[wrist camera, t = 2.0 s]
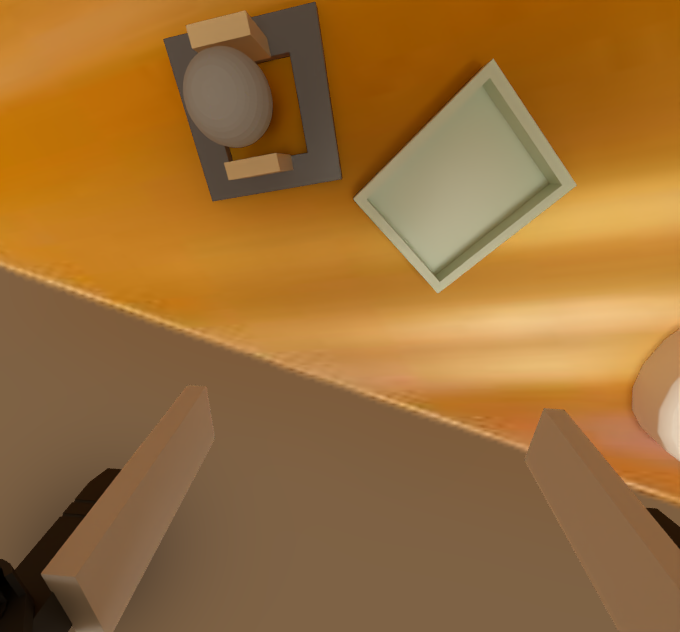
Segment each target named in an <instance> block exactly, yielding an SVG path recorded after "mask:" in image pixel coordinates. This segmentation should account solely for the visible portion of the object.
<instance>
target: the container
mask: <svg viewBox="0 0 680 632" xmlns="http://www.w3.org/2000/svg"><path fill="white" fill-rule="evenodd" d="M632 410H633V412H634V414H635V417H636V419H637V421H638V423H639V425H640V427H641V428H642V429H643V430H644V431H645V432H646V433H648V434H649V435H650V436H651V437H652V438H653V439H654V440H655V441H656V442H657V443H658V444H659V445H660V446H661V447H662V448H663V449H664V450H665V451H667V452H668V453H669V454H671V455H672V456H673V457H674V458H676V459H677V460H678V461H680V329H679V330H677V331H676V332H674V333H673V334H672V335H670V336H669V337H668V338H666V339H665V340H664V341H663V342H662V343H661V344H660V345H659V347H658V348H657V349H656V350H655V351H654V352H653V353H652V355H651V356H650V357H649V358H648V359H647V360H646V362H645V363H644V364H643V366H642V368H641V370H640V373H639V375H638V377H637V379H636V381H635V384H634V386H633V391H632Z"/></svg>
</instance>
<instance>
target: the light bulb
mask: <svg viewBox="0 0 680 632" xmlns="http://www.w3.org/2000/svg"><path fill="white" fill-rule="evenodd" d="M183 96H184V101H185V105H186V108H187V111H188V113H189V115H190V117H191V119H192V121H193V122H194V123H195V125H196V126H197V127H198V129H199V130H200V131H201V132H202V133H203V134H204V135H205V136H206V137H207V138H209V139H210V140H212V141H213V142H215V143H217V144H220V145H223V146H228V147H233V148H240V147H245V146H248V145H251V144H253V143H254V142H256V141H257V140H258V139H259V138H260V137H262V136H263V134H264V133H265V132H266V130H267V128H268V126H269V124H270V121H271V118H272V111H273V101H272V95H271V90H270V87H269V84H268V81H267V79H266V77H265V75H264V73H263V72H262V70H261V69H260V68H259V66H258V65H257V64H256V63H255V62H254V61H253V60H252V59H250V58H249V57H248V56H247V55H245V54H244V53H242V52H241V51H239V50H237V49H235V48H232V47H228V46H214V47H210V48H207V49H204V50H202V51H200V52H199V53H198V54H197V55H195V56H194V58H193V59H192V60H191V61H190V63H189V65H188V67H187V69H186V72H185V75H184V80H183Z"/></svg>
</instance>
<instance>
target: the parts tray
mask: <svg viewBox="0 0 680 632" xmlns="http://www.w3.org/2000/svg"><path fill="white" fill-rule="evenodd" d="M575 186H577V185H576V183H575V182H574V180H573V179H572V177H571V176H570V174H569V173H568V171H567V170H566V168H565V167H564V165H563V163H562V162H561V160H560V159H559V157H558V156H557V154H556V153H555V151H554V150H553V148H552V147H551V145H550V144H549V142H548V141H547V139H546V138H545V136H544V135H543V133H542V132H541V130H540V129H539V127H538V126H537V124H536V123H535V121H534V119H533V118H532V116H531V115H530V113H529V112H528V110H527V109H526V107H525V106H524V104H523V103H522V101H521V100H520V98H519V97H518V95H517V94H516V92H515V91H514V89H513V88H512V86H511V85H510V83H509V82H508V80H507V79H506V77H505V76H504V74H503V72H502V71H501V69H500V68H499V66H498V65H497V63H496V62H495V60H494V59H492V60H491V61H490V62H488V63H487V64H486V65H485V66H484V67H482V68H481V69H480V70H479V71H478V72H477V73H476V74H475V75H474V76H473V77H472V78H471V79H470V80H469V81H468V82H467V83H466V84H465V85H464V86H463V87H462V88H461V89H460V90H459V91H458V92H457V93H456V94H455V95H454V96H453V97H452V98H451V99H450V100H449V101H448V102H447V103H446V105H445V106H444V107H443V108H442V109H441V110H440V111H439V112H438V113H437V114H436V115H435V116H434V117H433V118H432V119H431V120H430V121H429V122H428V123H427V124H426V125H425V126H424V127H423V128H422V129H421V130H420V131H419V132H418V133H417V134H416V135H415V136H414V137H413V138H412V139H411V140H410V141H409V142H408V143H407V144H406V145H405V146H404V147H403V148H402V149H401V150H400V151H399V152H398V153H397V154H396V155H395V156H394V157H393V158H392V159H391V160H390V161H389V162H388V163H387V164H386V165H385V166H384V167H383V168H382V169H381V170H380V171H379V172H378V173H377V174H376V175H375V176H374V177H373V178H372V179H371V180H370V181H369V182H368V183H367V184H366V185H365V186H364V187H363V188H362V189H361V190H360V191H359V192H358V193H357V194H356V195H355V196H354V198H353V200H354V201H355V202H356V203H357V204H358V205H359V206H360V207H361V209H362V210H363V211H364V212H365V213H366V214H367V215H368V216H369V218H370V219H371V220H372V221H373V222H374V223H375V224H376V225H377V226H378V228H379V229H380V230H381V231H382V232H383V233H384V234H385V235H386V236H387V238H388V239H389V240H390V241H391V242H392V243H393V244H394V245H395V246H396V248H397V249H398V250H399V251H400V252H401V253H402V254H403V255H404V256H405V258H406V259H407V260H408V261H409V262H410V263H411V264H412V265H413V266H414V268H415V269H416V270H417V271H418V272H419V273H420V274H421V275H422V276H423V278H424V279H425V280H426V281H427V282H428V283H429V284H430V285H431V286H432V288H433V289H434V290H435V291H436V292H437V293H439V292H441V291H442V290H443V289H444V288H446V287H447V286H448V285H450V284H451V283H452V282H453V281H455V280H456V279H457V278H459V277H460V276H461V275H462V274H464V273H465V272H466V271H468V270H469V269H470V268H471V267H473V266H474V265H475V264H477V263H478V262H479V261H480V260H482V259H483V258H484V257H486V256H487V255H488V254H489V253H491V252H492V251H493V250H494V249H496V248H497V247H498V246H500V245H501V244H502V243H503V242H505V241H506V240H507V239H509V238H510V237H511V236H512V235H514V234H515V233H516V232H518V231H519V230H520V229H521V228H523V227H524V226H525V225H527V224H528V223H529V222H530V221H532V220H533V219H534V218H536V217H537V216H538V215H539V214H541V213H542V212H543V211H545V210H546V209H547V208H548V207H550V206H551V205H552V204H554V203H555V202H556V201H557V200H559V199H560V198H561V197H563V196H564V195H565V194H566V193H568V192H569V191H570V190H572V189H573V188H574V187H575Z"/></svg>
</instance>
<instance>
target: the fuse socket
mask: <svg viewBox="0 0 680 632" xmlns="http://www.w3.org/2000/svg"><path fill="white" fill-rule="evenodd" d="M186 29H187V32H188V33H186V34H182V35H178V36H174V37H170V38H166V39H163V40H164V43H165V46H166V50H167V53H168V56H169V59H170V63H171V66H172V69H173V73H174V76H175V79H176V82H177V86H178V89H179V92H180V96H181V99H182V102H183V106H184V109H185V112H186V115H187V119H188V122H189V125H190V129H191V132H192V135H193V138H194V142H195V145H196V148H197V152H198V155H199V158H200V161H201V165H202V168H203V171H204V175H205V178H206V181H207V184H208V188H209V191H210V194H211V198H212V201H218V200H224V199H230V198H235V197H241V196H247V195H253V194H258V193H264V192H270V191H276V190H282V189H287V188H293V187H299V186H305V185H311V184H316V183H322V182H328V181H334V180H340V179H342V174H341V167H340V160H339V153H338V147H337V140H336V133H335V126H334V119H333V113H332V106H331V99H330V92H329V85H328V79H327V72H326V65H325V58H324V51H323V44H322V38H321V31H320V24H319V17H318V10H317V6H316V2H312V3H308V4H304V5H300V6H296V7H292V8H288V9H284V10H280V11H276V12H272V13H267V14H263V15H259V16H255V17H250V16H249V14H248V13H247V12H246V11H241V12H237V13H233V14H229V15H225V16H221V17H217V18H213V19H209V20H205V21H201V22H197V23H193V24H189V25H186ZM214 46H228V47H232V48H235V49H237V50H239V51H241V52H242V53H244V54H245V55H247V56H248V57H249V58H250V59H252V60H253V61H254V62H255V63H256V64H257V63H262V62H266V61H271V60H275V59H280V58H284V57H288V56H290V57H291V62H292V68H293V73H294V79H295V85H296V90H297V96H298V101H299V107H300V112H301V118H302V123H303V129H304V134H305V140H306V145H307V151H308V153H304V154H298V155H293V156H291V155H290V154H281V153H273V154H268V155H263V156H257V157H252V158H247V159H241V160H236V161H233V160H232V156H231V153H230V149H229V147H228V146H223V145H220V144H217V143H215V142H213V141H212V140H210V139H209V138H207V137H206V136H205V135H204V134H203V133H202V132H201V131H200V130H199V129H198V127H197V126H196V125H195V123H194V122H193V121H192V119H191V117H190V115H189V113H188V111H187V108H186V105H185V101H184V96H183V80H184V75H185V72H186V69H187V67H188V65H189V63H190V61H191V60H192V59H193V58H194V56H195V55H197V54H198V53H199V52H200V51H202V50H204V49H207V48H210V47H214Z"/></svg>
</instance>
